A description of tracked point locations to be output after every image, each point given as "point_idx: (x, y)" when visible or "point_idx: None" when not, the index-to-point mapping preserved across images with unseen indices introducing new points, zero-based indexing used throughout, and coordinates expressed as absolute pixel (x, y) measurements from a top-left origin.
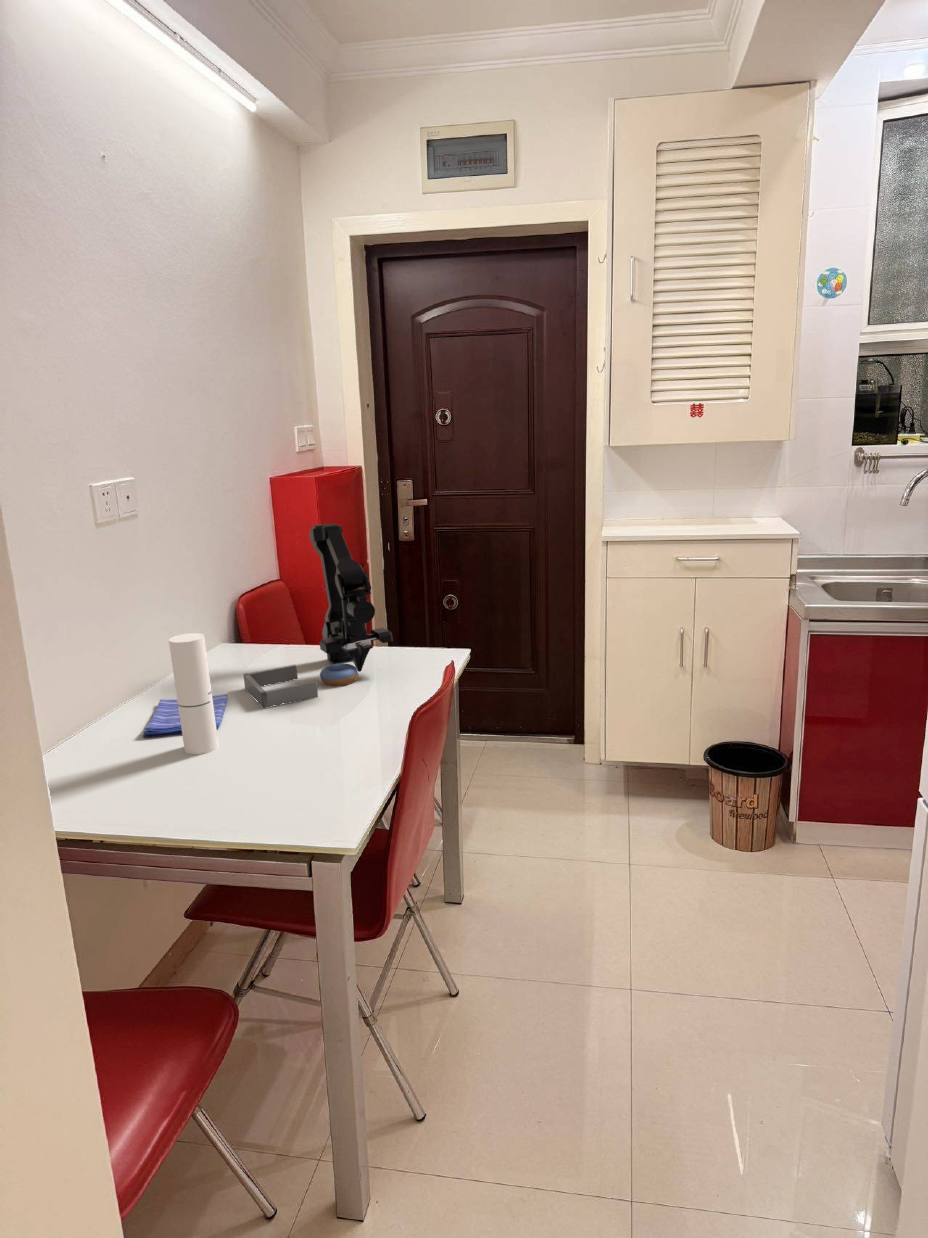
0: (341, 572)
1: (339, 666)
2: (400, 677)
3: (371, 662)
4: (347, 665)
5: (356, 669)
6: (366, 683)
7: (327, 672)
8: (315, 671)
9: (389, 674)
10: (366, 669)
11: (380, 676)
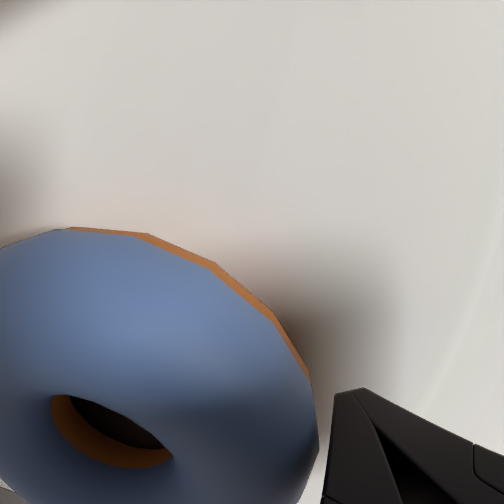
0: None
1: (100, 404)
2: (495, 439)
3: (493, 26)
4: (213, 474)
5: (300, 495)
6: (314, 496)
7: (16, 492)
8: (12, 17)
9: (500, 382)
10: (451, 171)
11: (450, 406)
